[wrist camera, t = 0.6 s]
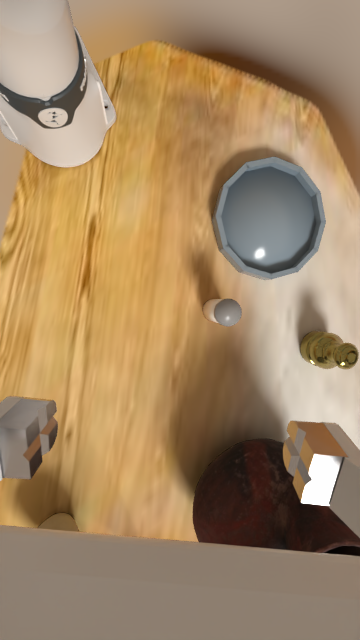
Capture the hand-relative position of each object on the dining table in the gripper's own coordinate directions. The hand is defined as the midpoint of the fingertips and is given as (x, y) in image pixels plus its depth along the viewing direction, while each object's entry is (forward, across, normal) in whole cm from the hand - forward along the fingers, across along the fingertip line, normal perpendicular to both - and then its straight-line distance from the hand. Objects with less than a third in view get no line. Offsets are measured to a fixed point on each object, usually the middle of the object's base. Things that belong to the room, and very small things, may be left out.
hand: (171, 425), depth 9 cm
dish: (+49, -15, -11) cm, 53 cm away
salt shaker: (+47, -29, +14) cm, 57 cm away
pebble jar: (+44, -6, +7) cm, 45 cm away
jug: (+38, -16, +42) cm, 59 cm away
